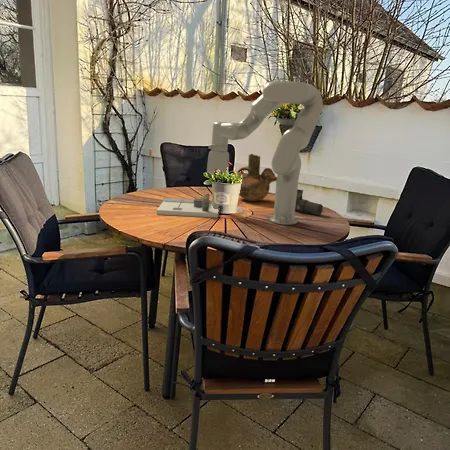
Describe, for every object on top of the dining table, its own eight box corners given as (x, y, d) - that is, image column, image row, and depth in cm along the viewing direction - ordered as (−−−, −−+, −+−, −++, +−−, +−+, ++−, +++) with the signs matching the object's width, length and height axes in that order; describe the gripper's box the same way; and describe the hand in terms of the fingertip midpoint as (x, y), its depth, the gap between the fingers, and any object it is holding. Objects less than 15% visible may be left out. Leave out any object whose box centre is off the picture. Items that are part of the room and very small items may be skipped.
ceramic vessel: (269, 207, 217) (273, 158, 210) (225, 199, 229) (227, 153, 222) (281, 201, 232) (285, 156, 225) (239, 195, 244) (242, 151, 237)
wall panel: (217, 217, 192) (218, 210, 191) (156, 214, 193) (156, 206, 192) (219, 205, 215) (220, 198, 214) (165, 202, 216) (165, 195, 215)
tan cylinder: (208, 211, 194) (209, 194, 192) (201, 211, 194) (202, 194, 192) (208, 209, 197) (209, 193, 195) (202, 209, 197) (203, 192, 195)
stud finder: (206, 207, 201) (206, 200, 200) (193, 206, 201) (194, 199, 200) (207, 203, 209) (207, 196, 208) (195, 202, 209) (195, 196, 208)
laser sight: (314, 217, 202) (316, 197, 200) (275, 208, 216) (277, 189, 214) (323, 214, 210) (326, 194, 207) (285, 205, 224) (287, 187, 221)
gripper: (202, 148, 194) (200, 187, 199) (235, 151, 194) (232, 190, 199) (204, 146, 201) (201, 184, 207) (235, 149, 201) (232, 187, 206)
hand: (216, 187), depth 203 cm, fingers closed
